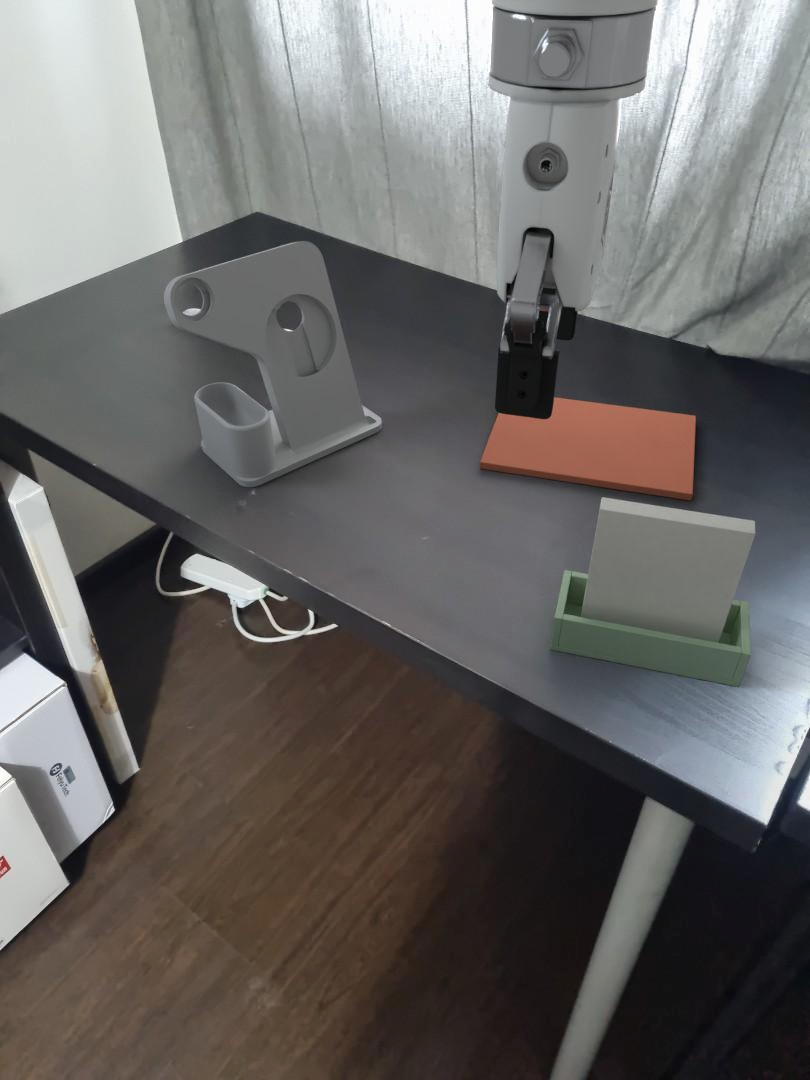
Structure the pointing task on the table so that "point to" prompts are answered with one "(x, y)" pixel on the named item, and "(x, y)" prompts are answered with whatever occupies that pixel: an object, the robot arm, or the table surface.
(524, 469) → the mat
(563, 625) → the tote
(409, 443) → the table surface
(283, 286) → the phone holder
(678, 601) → the board
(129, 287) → the table surface
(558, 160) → the robot arm
